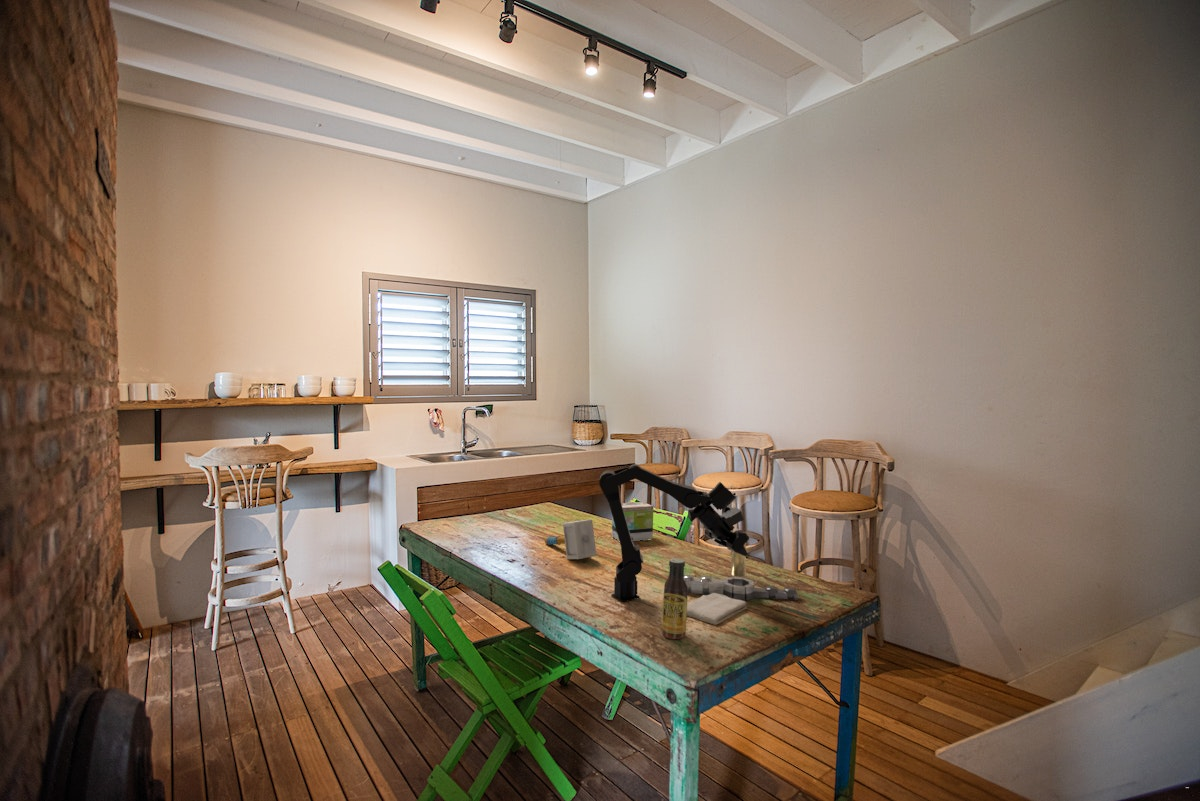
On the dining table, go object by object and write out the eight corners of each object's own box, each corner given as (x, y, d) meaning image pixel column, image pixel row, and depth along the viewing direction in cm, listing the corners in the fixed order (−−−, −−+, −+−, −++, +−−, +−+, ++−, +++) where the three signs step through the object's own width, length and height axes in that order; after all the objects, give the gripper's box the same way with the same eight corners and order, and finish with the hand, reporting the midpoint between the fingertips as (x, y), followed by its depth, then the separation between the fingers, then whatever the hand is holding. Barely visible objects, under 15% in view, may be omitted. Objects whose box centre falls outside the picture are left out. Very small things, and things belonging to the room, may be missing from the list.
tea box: (620, 543, 241) (620, 507, 240) (611, 537, 250) (611, 503, 250) (653, 540, 246) (653, 505, 246) (643, 534, 256) (643, 500, 255)
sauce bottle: (659, 638, 151) (659, 562, 150) (665, 629, 157) (665, 555, 156) (684, 642, 148) (684, 564, 148) (689, 632, 154) (690, 558, 154)
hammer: (540, 559, 236) (579, 559, 212) (536, 525, 238) (574, 521, 214) (558, 556, 241) (598, 555, 217) (554, 523, 243) (593, 519, 219)
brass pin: (738, 577, 179) (739, 535, 179) (727, 573, 183) (728, 532, 182) (748, 574, 182) (749, 533, 181) (737, 571, 185) (738, 530, 185)
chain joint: (681, 596, 181) (681, 580, 181) (682, 586, 190) (682, 571, 190) (799, 604, 175) (799, 588, 174) (794, 593, 184) (794, 578, 184)
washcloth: (748, 609, 172) (748, 599, 172) (716, 628, 159) (716, 616, 158) (713, 599, 180) (713, 589, 180) (680, 616, 167) (680, 605, 166)
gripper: (743, 506, 171) (775, 541, 175) (713, 494, 189) (743, 526, 193) (719, 534, 169) (752, 569, 173) (691, 520, 187) (721, 552, 191)
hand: (742, 552), depth 182 cm, fingers closed on brass pin, 4 cm apart
